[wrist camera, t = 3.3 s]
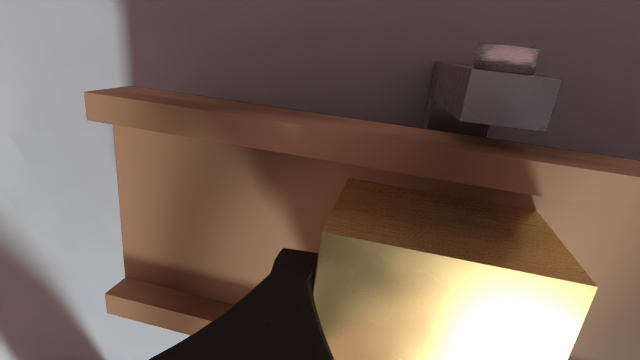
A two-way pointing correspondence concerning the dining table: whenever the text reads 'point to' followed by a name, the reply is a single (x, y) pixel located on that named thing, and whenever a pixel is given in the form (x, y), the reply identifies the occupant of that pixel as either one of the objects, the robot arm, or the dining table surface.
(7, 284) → the dining table surface
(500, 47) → the stand
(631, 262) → the beam
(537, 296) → the block
